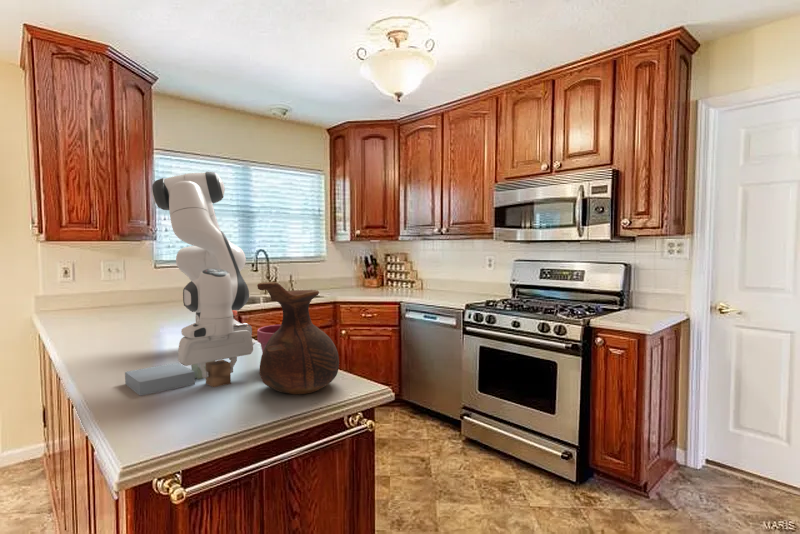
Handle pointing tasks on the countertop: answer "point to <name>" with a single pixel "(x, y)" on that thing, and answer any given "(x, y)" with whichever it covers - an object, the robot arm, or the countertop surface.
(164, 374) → the slate base block
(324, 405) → the countertop surface
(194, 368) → the sage block
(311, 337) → the jug
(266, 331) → the plant pot
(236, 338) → the robot arm
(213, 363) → the walnut block
